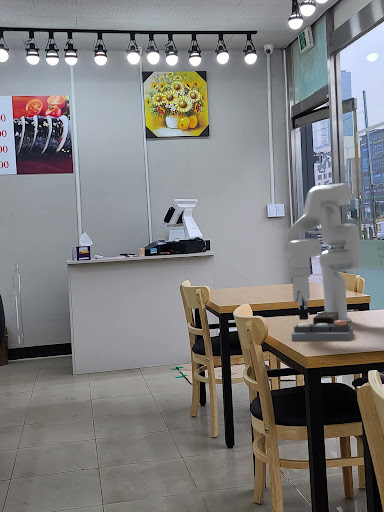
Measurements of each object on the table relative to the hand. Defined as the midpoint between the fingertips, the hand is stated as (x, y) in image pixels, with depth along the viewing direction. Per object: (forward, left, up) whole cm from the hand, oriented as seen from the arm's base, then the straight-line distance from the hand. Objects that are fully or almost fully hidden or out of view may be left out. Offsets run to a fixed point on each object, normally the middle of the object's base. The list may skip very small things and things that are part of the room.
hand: (303, 319), depth 244 cm
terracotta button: (+1, +14, -3) cm, 14 cm away
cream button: (+1, 0, -4) cm, 4 cm away
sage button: (+1, +7, -4) cm, 8 cm away
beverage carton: (-18, +6, -7) cm, 20 cm away
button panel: (+1, +7, -7) cm, 10 cm away
